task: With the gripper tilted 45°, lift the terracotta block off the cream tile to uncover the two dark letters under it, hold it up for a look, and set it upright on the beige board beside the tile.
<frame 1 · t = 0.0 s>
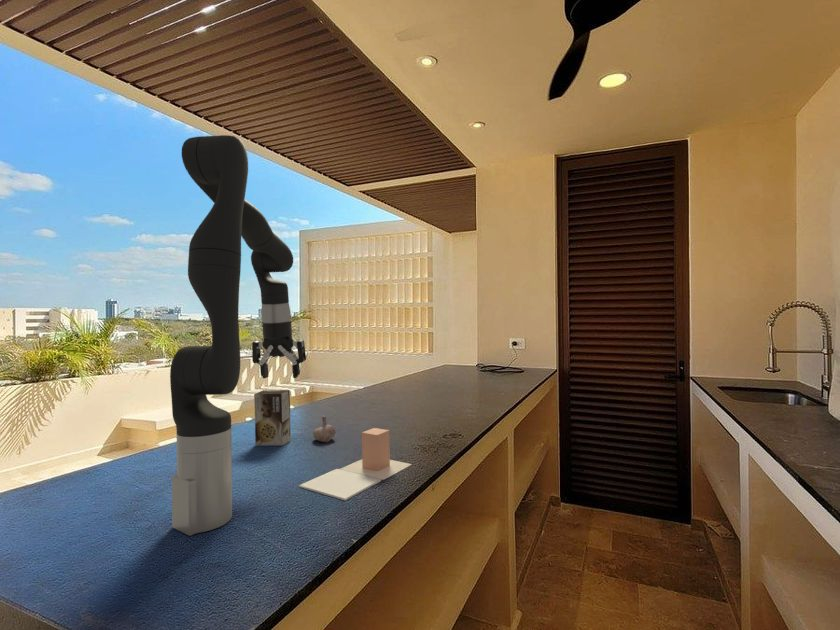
hand: (280, 377, 114), 22 cm above the counter, tool pointing down, fingers open, 8 cm apart
garlic bulb: (324, 441, 131), on the counter
cream tile: (376, 467, 105), on the counter
coffee box: (273, 443, 129), on the counter
beige board: (340, 484, 94), on the counter
block: (376, 466, 105), resting on cream tile
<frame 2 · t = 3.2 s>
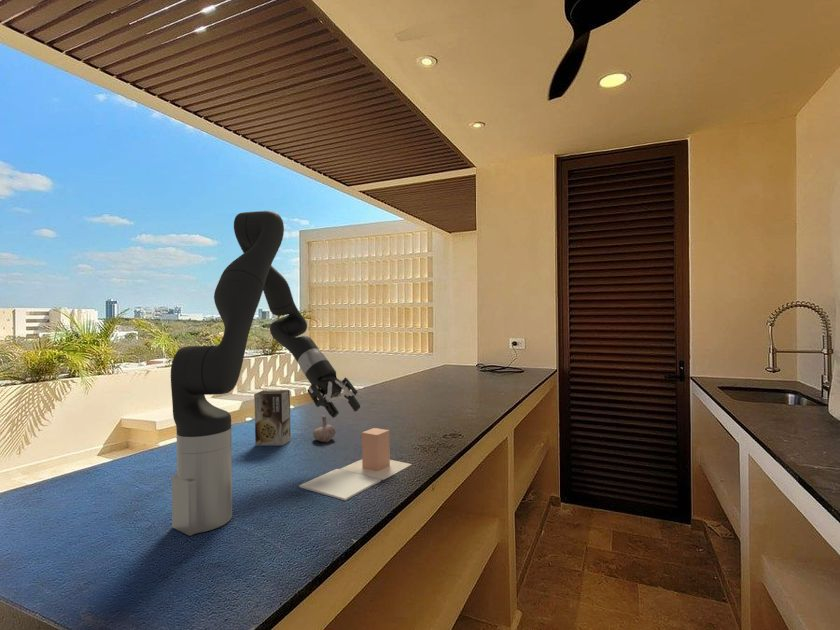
hand: (347, 412, 110), 13 cm above the counter, tool tilted 45°, fingers open, 8 cm apart
nothing on the counter moved.
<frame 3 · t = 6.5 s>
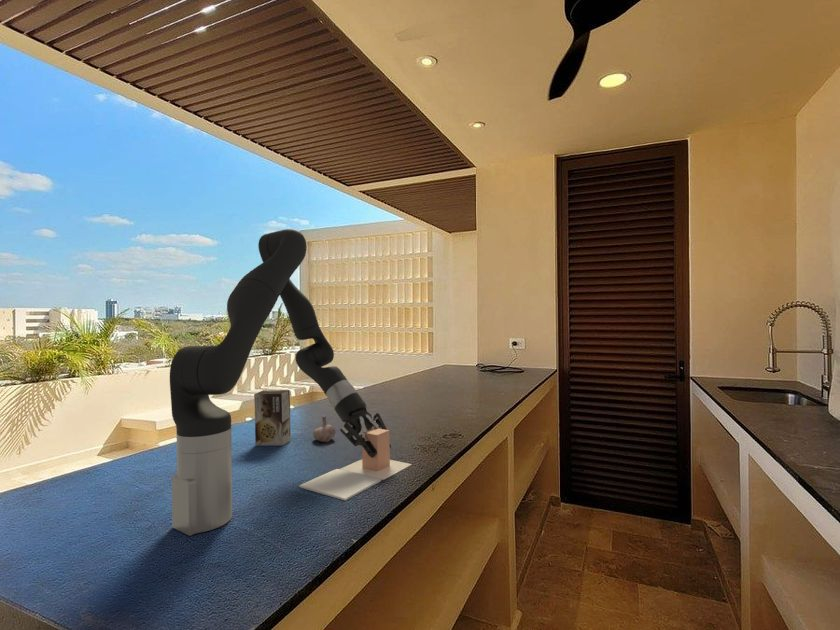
hand: (381, 452, 104), 4 cm above the counter, tool tilted 45°, fingers closed on block, 5 cm apart
block: (376, 466, 105), resting on cream tile, touching gripper
everything else where it was.
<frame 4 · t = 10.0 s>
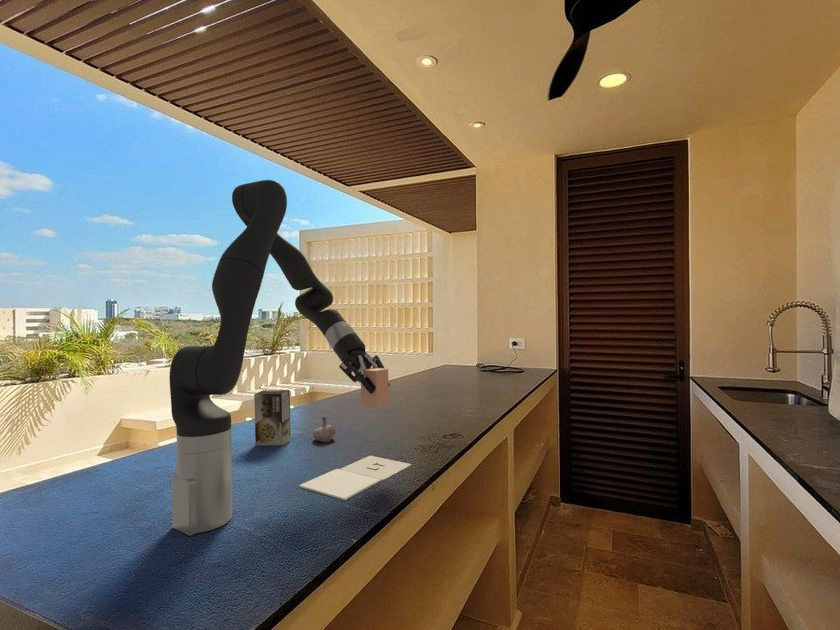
hand: (380, 389, 104), 20 cm above the counter, tool tilted 45°, fingers closed on block, 5 cm apart
block: (375, 404, 105), point 16 cm above the counter, touching gripper
everything else where it was.
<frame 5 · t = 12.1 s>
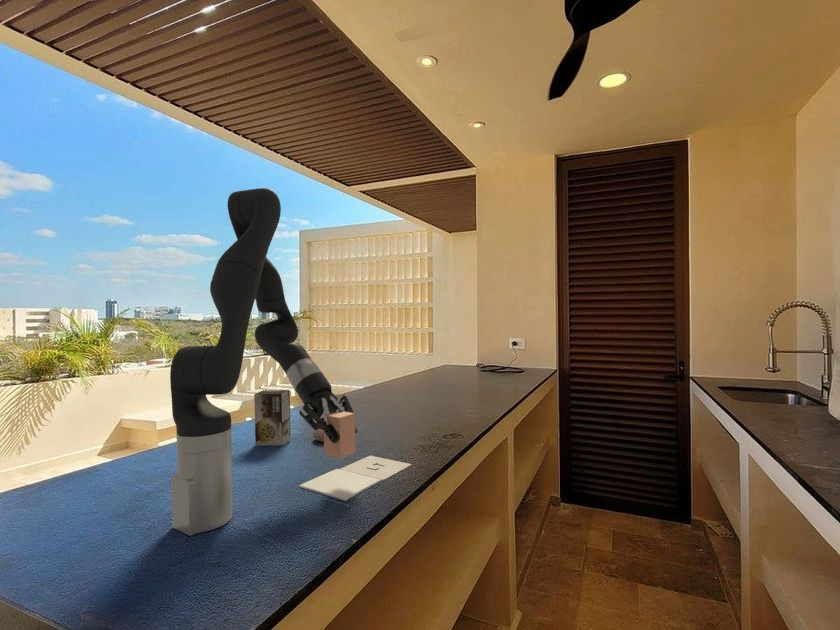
hand: (345, 437, 93), 11 cm above the counter, tool tilted 45°, fingers closed on block, 5 cm apart
block: (340, 453, 94), point 7 cm above the counter, touching gripper
everything else where it was.
when the fingers open (6 cm above the counter, at t = 13.7 s): block drops 1 cm, resting on beige board.
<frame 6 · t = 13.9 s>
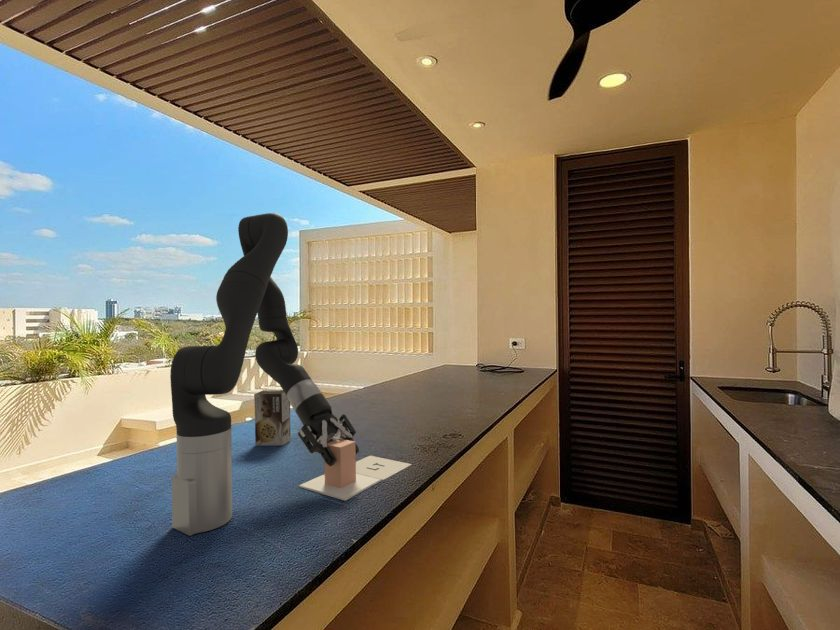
hand: (345, 458, 93), 6 cm above the counter, tool tilted 45°, fingers open, 7 cm apart
block: (340, 482, 94), point 1 cm above the counter, touching beige board
everything else where it was.
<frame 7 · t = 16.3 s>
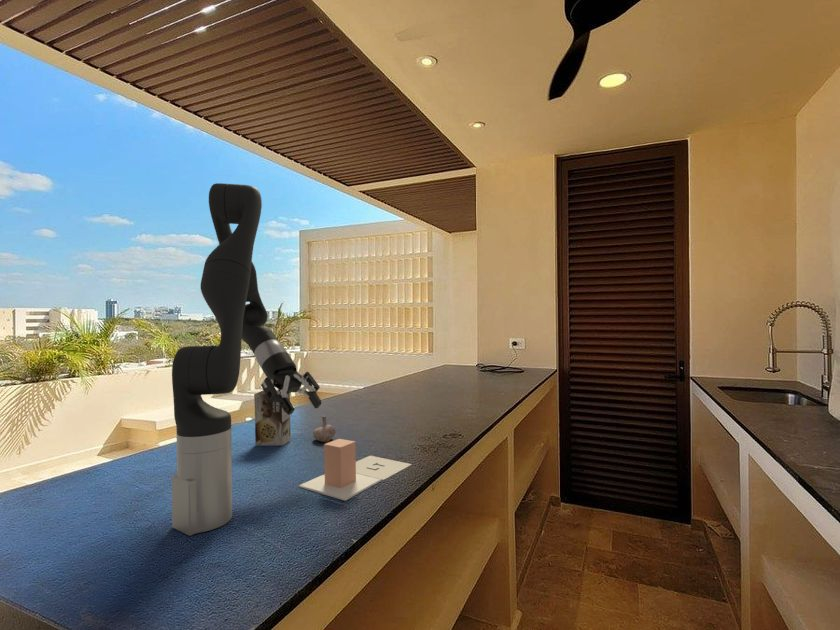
hand: (305, 409, 101), 16 cm above the counter, tool tilted 45°, fingers open, 8 cm apart
nothing on the counter moved.
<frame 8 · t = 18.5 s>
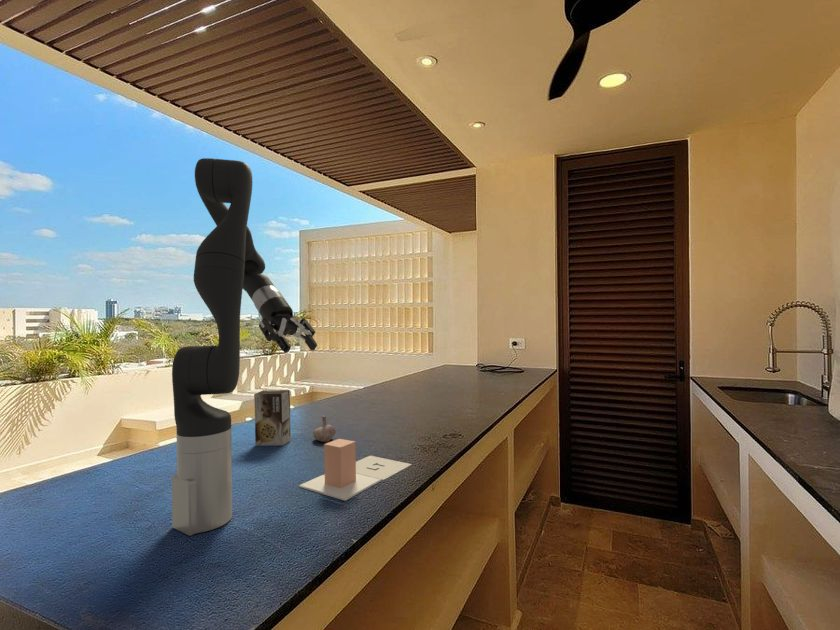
hand: (301, 349, 104), 31 cm above the counter, tool tilted 45°, fingers open, 8 cm apart
nothing on the counter moved.
at the end: block inside the target area (0.1 cm from its centre), point 0.6 cm above the counter; block tilted 0°; block touching beige board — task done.
